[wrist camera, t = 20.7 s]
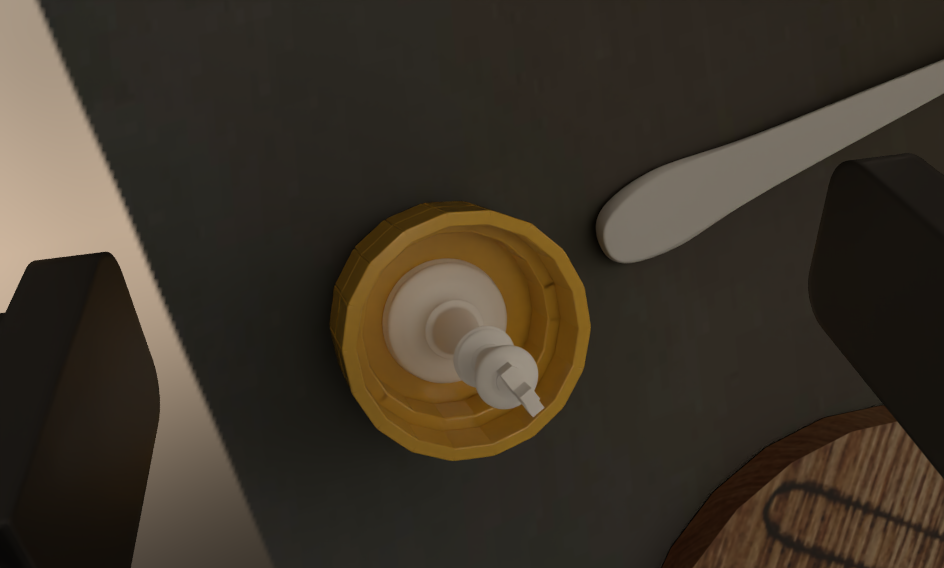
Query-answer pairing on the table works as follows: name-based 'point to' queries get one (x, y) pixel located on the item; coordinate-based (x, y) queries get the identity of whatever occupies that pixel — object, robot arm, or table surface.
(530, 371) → the chess piece
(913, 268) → the robot arm
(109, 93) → the table surface
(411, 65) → the table surface
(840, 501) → the trivet
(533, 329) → the bowl
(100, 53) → the table surface
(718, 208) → the spoon
